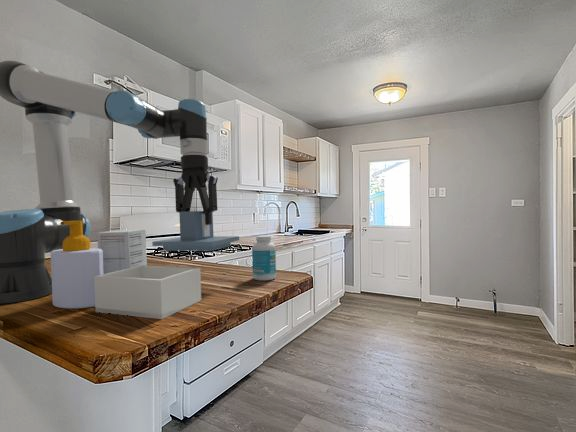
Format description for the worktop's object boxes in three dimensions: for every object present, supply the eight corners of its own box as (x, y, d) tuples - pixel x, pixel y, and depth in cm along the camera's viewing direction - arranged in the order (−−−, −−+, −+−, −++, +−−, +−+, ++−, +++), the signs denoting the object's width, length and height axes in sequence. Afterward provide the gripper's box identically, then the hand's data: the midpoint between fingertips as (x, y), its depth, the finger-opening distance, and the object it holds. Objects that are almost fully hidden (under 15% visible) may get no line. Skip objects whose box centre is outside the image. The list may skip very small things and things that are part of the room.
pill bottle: (275, 281, 98) (274, 236, 98) (251, 281, 98) (250, 237, 98) (276, 275, 105) (275, 234, 105) (254, 276, 105) (253, 235, 105)
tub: (95, 312, 71) (94, 276, 71) (142, 295, 85) (141, 265, 84) (162, 319, 66) (160, 280, 65) (201, 300, 79) (200, 267, 79)
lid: (152, 251, 89) (151, 212, 88) (186, 244, 103) (184, 211, 103) (212, 252, 83) (211, 210, 82) (239, 245, 97) (238, 209, 97)
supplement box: (149, 284, 97) (147, 229, 97) (131, 292, 88) (129, 231, 87) (119, 284, 98) (117, 229, 98) (98, 292, 89) (96, 232, 88)
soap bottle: (41, 307, 76) (37, 222, 76) (73, 297, 84) (70, 220, 84) (85, 310, 73) (82, 221, 72) (114, 300, 81) (111, 219, 80)
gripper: (159, 156, 92) (162, 237, 92) (214, 151, 86) (218, 237, 86) (176, 160, 99) (179, 235, 99) (228, 155, 93) (231, 235, 93)
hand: (197, 236), depth 93 cm, fingers closed on lid, 5 cm apart
